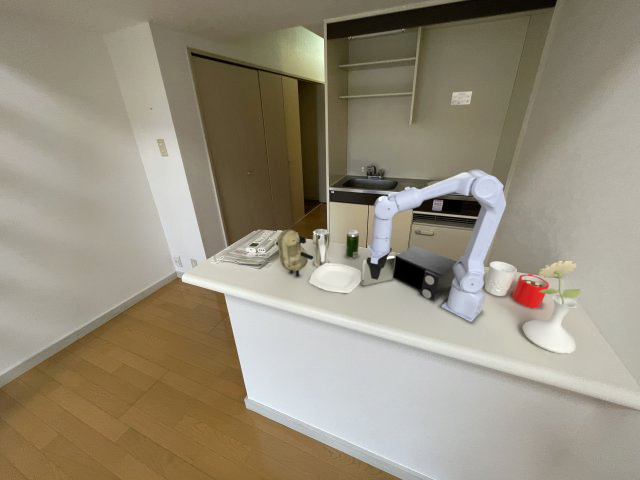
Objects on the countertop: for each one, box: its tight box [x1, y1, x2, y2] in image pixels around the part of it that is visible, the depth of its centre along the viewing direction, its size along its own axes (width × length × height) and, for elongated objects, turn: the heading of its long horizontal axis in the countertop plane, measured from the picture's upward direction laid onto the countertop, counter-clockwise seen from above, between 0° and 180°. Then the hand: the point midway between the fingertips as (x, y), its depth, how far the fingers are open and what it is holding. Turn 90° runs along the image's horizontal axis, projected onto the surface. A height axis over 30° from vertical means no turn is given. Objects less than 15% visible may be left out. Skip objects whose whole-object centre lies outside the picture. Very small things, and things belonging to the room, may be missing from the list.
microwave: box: [392, 245, 458, 302], centre depth 96 cm, size 15×18×10 cm
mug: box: [511, 273, 550, 308], centre depth 88 cm, size 8×12×8 cm, turn 152°
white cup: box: [484, 260, 518, 297], centre depth 91 cm, size 8×8×10 cm
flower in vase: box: [522, 260, 581, 354], centre depth 67 cm, size 13×11×25 cm
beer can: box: [345, 229, 360, 260], centre depth 115 cm, size 5×5×12 cm
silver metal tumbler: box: [312, 228, 330, 268], centre depth 109 cm, size 7×7×15 cm
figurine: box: [275, 229, 314, 278], centre depth 100 cm, size 19×12×20 cm, turn 49°
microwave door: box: [361, 255, 396, 287], centre depth 99 cm, size 7×13×10 cm, turn 109°
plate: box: [308, 262, 362, 294], centre depth 99 cm, size 19×19×2 cm
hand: (377, 272), depth 85 cm, fingers open, 7 cm apart
